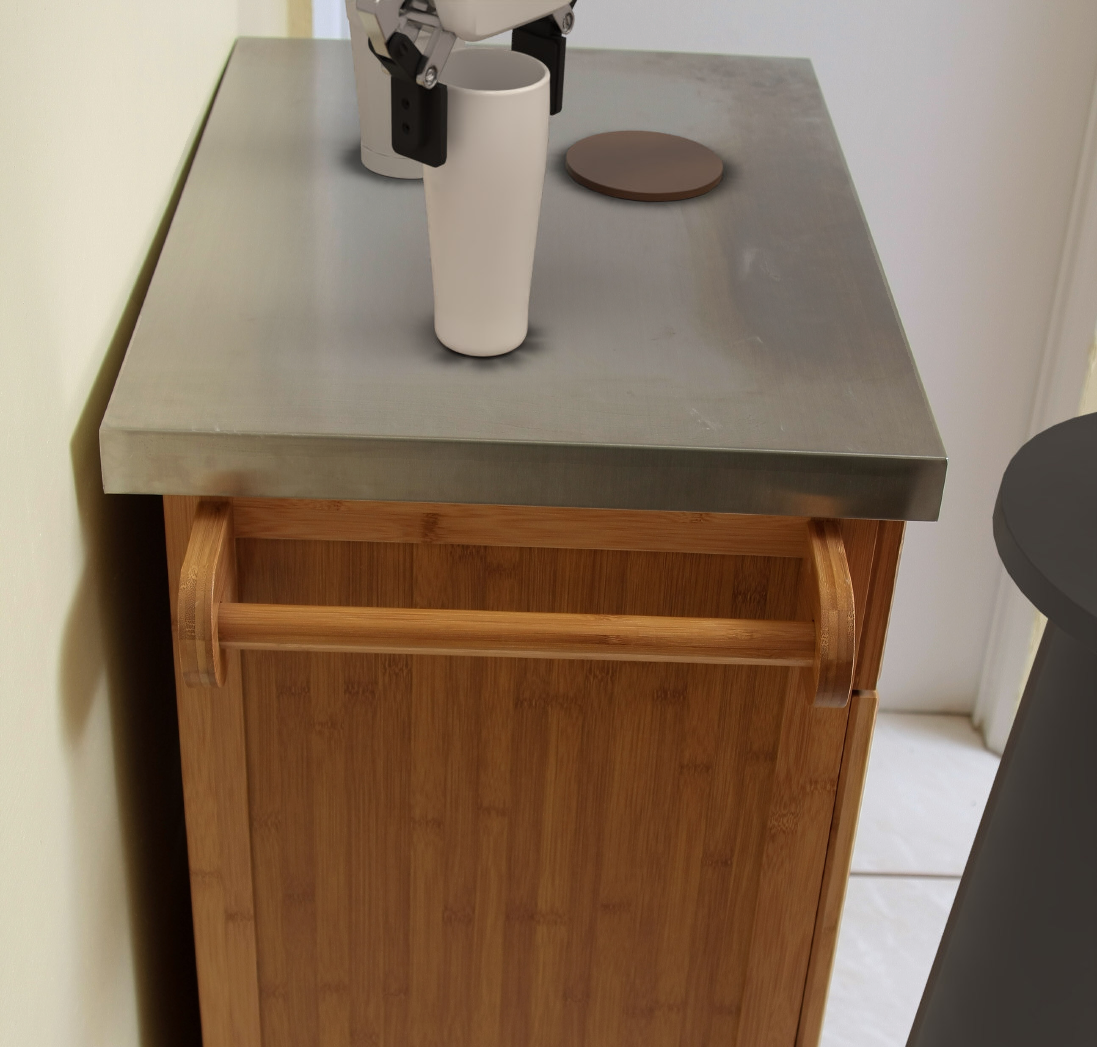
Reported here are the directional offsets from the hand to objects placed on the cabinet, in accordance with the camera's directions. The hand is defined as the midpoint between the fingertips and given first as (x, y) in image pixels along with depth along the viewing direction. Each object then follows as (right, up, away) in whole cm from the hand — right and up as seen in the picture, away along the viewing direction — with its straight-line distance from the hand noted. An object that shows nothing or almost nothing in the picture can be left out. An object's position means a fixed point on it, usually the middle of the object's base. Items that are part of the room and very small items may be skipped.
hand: (479, 132), depth 81 cm
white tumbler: (0, -9, +8) cm, 12 cm away
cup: (-6, +9, +27) cm, 29 cm away
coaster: (+10, +9, +27) cm, 30 cm away
